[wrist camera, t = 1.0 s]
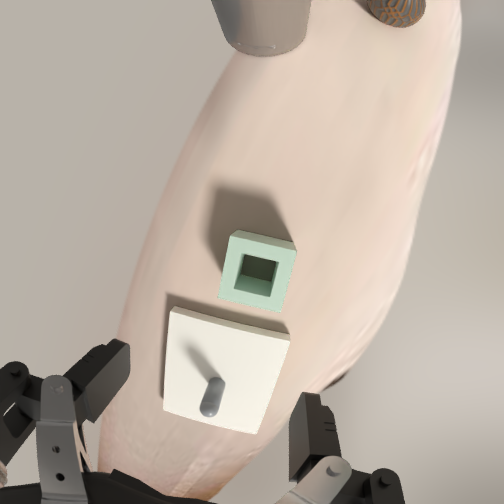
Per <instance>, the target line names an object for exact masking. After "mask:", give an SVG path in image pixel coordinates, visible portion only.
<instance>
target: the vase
mask: <svg viewBox="0 0 504 504" xmlns="http://www.w3.org/2000/svg"><path fill="white" fill-rule="evenodd" d="M367 3H368V6H369V8H370V10H371V12H372V13H373V14H374V15H375V16H376V17H377V18H378V19H379V20H380V21H382V22H383V23H385V24H387V25H390V26H393V27H399V28H404V27H409V26H412V25H414V24H415V23H417V22H418V21H419V20H420V19H421V18H422V16H423V14H424V12H425V7H426V2H425V0H367Z"/></svg>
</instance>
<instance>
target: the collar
mask: <svg viewBox="0 0 504 504" xmlns="http://www.w3.org/2000/svg"><path fill="white" fill-rule="evenodd" d="M296 253H297V250H296V247H295V245H294V242H290V241H286V240H281V239H277V238H273V237H269V236H264V235H260V234H256V233H251V232H247V231H242V230H236V231H235V232H234V233H233V234H231V235H230V238H229V243H228V248H227V253H226V258H225V263H224V268H223V273H222V278H221V283H220V288H219V294H218V298H219V299H223V300H227V301H231V302H235V303H239V304H244V305H248V306H252V307H256V308H261V309H265V310H269V311H274V312H278V313H280V312H281V309H282V305H283V302H284V298H285V294H286V291H287V287H288V283H289V280H290V276H291V272H292V268H293V265H294V261H295V257H296ZM245 254H247V255H252V256H256V257H260V258H264V259H269V260H273V261H276V265H275V269H274V273H273V277H272V281H271V282H270V281H266V280H262V279H258V278H253V277H249V276H245V275H241V270H242V265H243V261H244V256H245Z"/></svg>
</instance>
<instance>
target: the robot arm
mask: <svg viewBox="0 0 504 504" xmlns="http://www.w3.org/2000/svg"><path fill="white" fill-rule="evenodd" d="M211 1H212V4H213V6H214V9H215V12H216V14H217V17H218V20H219V22H220V25H221V28H222V31H223V33H224V36H225V38H226V40H227V41H228V43H229V44H230V45H231V46H232V47H234V48H235V49H237V50H238V51H241V52H243V53H246V54H249V55H254V56H275V55H279V54H284V53H286V52H288V51H291V50H292V49H294V48H296V47H297V46H298V45H299V44H300V43H301V42H302V41H303V39H304V37H305V35H306V30H307V24H308V18H309V13H310V7H311V0H211ZM129 374H130V346H129V344H127V343H125V342H122V341H120V340H117V339H113V340H111V341H110V342H109V343H108V344H107V345H106V346H105V345H103V344H101V345H99V346H96V347H94V348H92V349H91V350H90V351H89V352H88V353H87V355H85V356H84V357H82V359H80V360H79V361H78V362H77V363H76V364H75V365H74V366H73V367H71V368H70V369H69V370H68V371H67V372H66V373H65V374H64V375H63V376H60V375H51V376H48V377H47V378H45V379H42V378H39V377H36V376H33V375H30V374H29V370H28V368H27V366H26V365H25V364H23V363H21V362H18V361H14V362H9V363H7V364H6V365H5V366H4V367H2V368H1V369H0V504H216V503H212V502H207V501H203V500H199V499H193V498H181V497H172V496H166V495H163V494H161V493H160V492H158V491H156V490H155V489H153V488H151V487H150V486H148V485H146V484H145V483H143V482H142V481H140V480H139V479H136V478H134V477H131V476H129V475H127V474H125V473H122V472H120V471H118V470H116V469H113V471H112V473H111V474H110V473H105V472H93V469H92V466H91V463H90V459H89V455H88V451H87V446H86V440H85V435H84V428H83V422H84V421H85V420H86V419H87V420H89V421H91V422H92V423H94V422H95V421H96V420H97V418H98V417H99V416H100V415H101V413H102V412H103V411H104V409H105V408H106V407H107V405H108V404H109V403H110V401H111V400H112V399H113V397H114V396H115V395H116V394H117V392H118V391H119V390H120V388H121V387H122V386H123V384H124V383H125V382H126V381H127V379H128V377H129ZM14 402H15V404H14V405H13V407H12V408H11V409H10V410H9V411H8V412H7V413H6V414H5V415H4V413H5V412H6V410H7V409H8V408H9V407H10V406H11V405H12V404H13V403H14ZM3 415H4V416H3ZM35 427H36V442H37V443H36V444H37V458H38V469H39V477H40V482H39V483H33V484H26V485H18V486H8V487H4V485H5V484H6V483H7V470H6V466H7V464H8V463H9V461H10V460H11V459H12V457H13V456H14V455H15V453H16V452H17V451H18V449H19V448H20V447H21V445H22V444H23V443H24V441H25V440H26V439H27V438H28V436H29V435H30V434H31V433H32V431H33V430H34V429H35ZM289 482H297V485H296V486H295V487H294V488H293V489H292V490H291V491H289V492H288V493H286V494H285V495H284V496H283V497H282V498H281V499H280V500H279V501H277V502H276V503H275V504H405V501H404V496H403V492H402V487H401V483H400V480H399V477H398V475H397V474H396V473H395V472H394V471H392V470H390V469H386V468H381V469H377V470H376V471H374V472H373V473H372V474H368V473H364V472H360V471H356V470H354V469H352V468H351V466H350V464H349V463H348V462H347V461H346V460H345V459H343V458H342V457H341V450H340V445H339V440H338V435H337V432H336V425H335V419H334V415H333V413H332V411H331V410H330V409H329V407H328V406H323V405H321V400H320V395H319V394H314V393H307V392H302V393H301V395H300V397H299V399H298V402H297V404H296V406H295V408H294V410H293V412H292V414H291V417H290V421H289Z"/></svg>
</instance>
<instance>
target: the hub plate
mask: <svg viewBox="0 0 504 504" xmlns="http://www.w3.org/2000/svg"><path fill="white" fill-rule="evenodd" d="M289 344H290V334H285V333H281V332H276V331H271V330H267V329H262V328H258V327H254V326H249V325H245V324H241V323H237V322H233V321H229V320H225V319H221V318H217V317H213V316H209V315H206V314H202V313H198V312H195V311H191V310H188V309H184V308H181V307H177V306H174V307H173V308H172V310H171V311H170V317H169V327H168V337H167V350H166V363H165V380H164V403H163V410H165V411H168V412H171V413H174V414H177V415H180V416H183V417H186V418H190V419H193V420H197V421H200V422H204V423H207V424H211V425H215V426H219V427H223V428H227V429H232V430H236V431H241V432H246V433H251V434H257V431H258V429H259V426H260V424H261V421H262V419H263V416H264V414H265V411H266V408H267V406H268V403H269V400H270V398H271V395H272V392H273V390H274V387H275V384H276V382H277V379H278V376H279V373H280V370H281V368H282V365H283V362H284V359H285V356H286V353H287V350H288V347H289Z"/></svg>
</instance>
